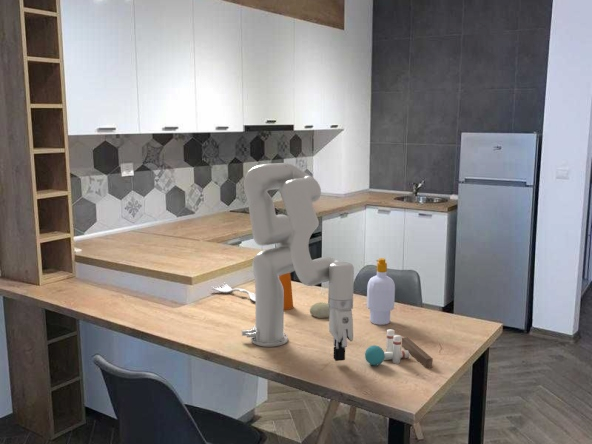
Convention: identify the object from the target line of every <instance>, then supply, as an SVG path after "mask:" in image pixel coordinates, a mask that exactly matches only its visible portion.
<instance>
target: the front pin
mask: <svg viewBox="0 0 592 444" xmlns="http://www.w3.org/2000/svg"><path fill="white" fill-rule="evenodd" d="M384 355H385V357H384V360H383V361H389V360H391V361H392V360H393V351H392V352H386V351H384ZM409 358H410V353H409V351H408V350H405V349H403V350H402V349H401V356H400V360H401V359H403V360H404V359H409Z"/></svg>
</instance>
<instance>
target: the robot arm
mask: <svg viewBox="0 0 592 444" xmlns="http://www.w3.org/2000/svg"><path fill="white" fill-rule="evenodd" d="M243 188H244V189H243V190H244V193H245V194H244V195H245V197H246V201H247V205H248V209H249V210H248V211H249V218H250V226H251V232H252V237H253V241H254V242H255V244H256V245H258V246H262V247H266V246H272V245H275V247H272V248H268V249H264V250H261V251H260V252H258V253H256V254H255V256H254V257H253V259H252V263H251V264H252V267H251V268H252V272H253V279H254V289H255V290H254V291H255V301H256V302H255V301H254V302H255V325H253V328H250V329H242V330H241V336H242V337H243V336H244V337H246V338H250V342H251V343H252V344H254V345H255V346H256V345H257V346H258V347H265V348H266V347H267V348H271V347H273V348H274V347H280V346H283V345H285V344H286V343H288V341H289V336H288V335H287V334H286V333H284V323H285V322H284V319H285V318H284V316H285V315H284V313H285V310H284V290H283V286H282V283H281V281H280V279H279V276H281V275H284V274H287V273H290V274H291V273H293V272H295V274H296V276H297V278H298V280H299V281H300V283H301V284H303V285H305V286H307V287H313V286H316V285H320V284H323V283H327V282H328V296H327V297H328V298H327V300H328V302H327V303H328V308H329V309H330V315H329V318H328V329H329V334H330V335H331V336H332V339H333V360H334V361H335V362H342V361H345V360H346V348H347V347H348V341H349V342H353V341H354V321H353V320H354V319H353V311H352V310H353V309H354V282H355V281H354V278H355V267H354V265H353V264H352V263H351V262H349V261H339V260H337V259H335V258H333V257H332V256H323V257H319V258H315V259H312V257H311V253H310V250H309V243H310V238H311V236H312V234H313V233H314V232H315V230H317V228H318V227H319V224H320V221H319V219H318V215H317V213H316V210H315V207H314V204H313V203H315V202H317V201H318V200H320V198H321V195H322V189H321V186H320V183H319V181H318V180H316V179H315V178H314V177H313V176H312V175H310V174H308V173H307V172H305V171H303V170H302V169H300V168H299V167H297V166H296V165H294V164H292V163H288V162H277V163H264V164H258V165H255V166H253V167H252V168H250V169H249V170H248V171H247V172H246V175H245V177H244V181H243ZM271 190H273V191H274V190H279V191H280V197H281V200H282V204H283V205H284V209H285V210H286V214H287V215H286V214H276V209H275V203H274V200H273V198H272V196H271V195H270V194H269V191H271Z"/></svg>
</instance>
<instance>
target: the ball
mask: <svg viewBox="0 0 592 444" xmlns="http://www.w3.org/2000/svg"><path fill="white" fill-rule="evenodd" d="M384 352H385V351H384V349H383V348H381V347H380V346H378V345H375V344H374V345H370V346H369V347H367V349H365V352H364V358H365V361H366V362H367V363H368V364H369V365H370V366H371V365H372V366H379V365H381V364H382V363H383V362H384V361H385V360H384V357H385V355H384Z"/></svg>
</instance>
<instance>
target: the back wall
mask: <svg viewBox="0 0 592 444" xmlns="http://www.w3.org/2000/svg"><path fill="white" fill-rule="evenodd" d="M401 348H403V350H408V351H409V355H411V356H412V357H413V358H414V360H416V361H417V362H418V363H420V364H421V365H422V366H423V367H424V368H425V369H432V368H433V362H434V361H433V360H434V359H433V357H431V356H430V355H429V354H428V353H427V352H426V351H424V350H423V349H422V348H421V347H420V346H419V345H417V344H416V343H415V342H414V341H413V340H411V339H410V338H409V337H401Z"/></svg>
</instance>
